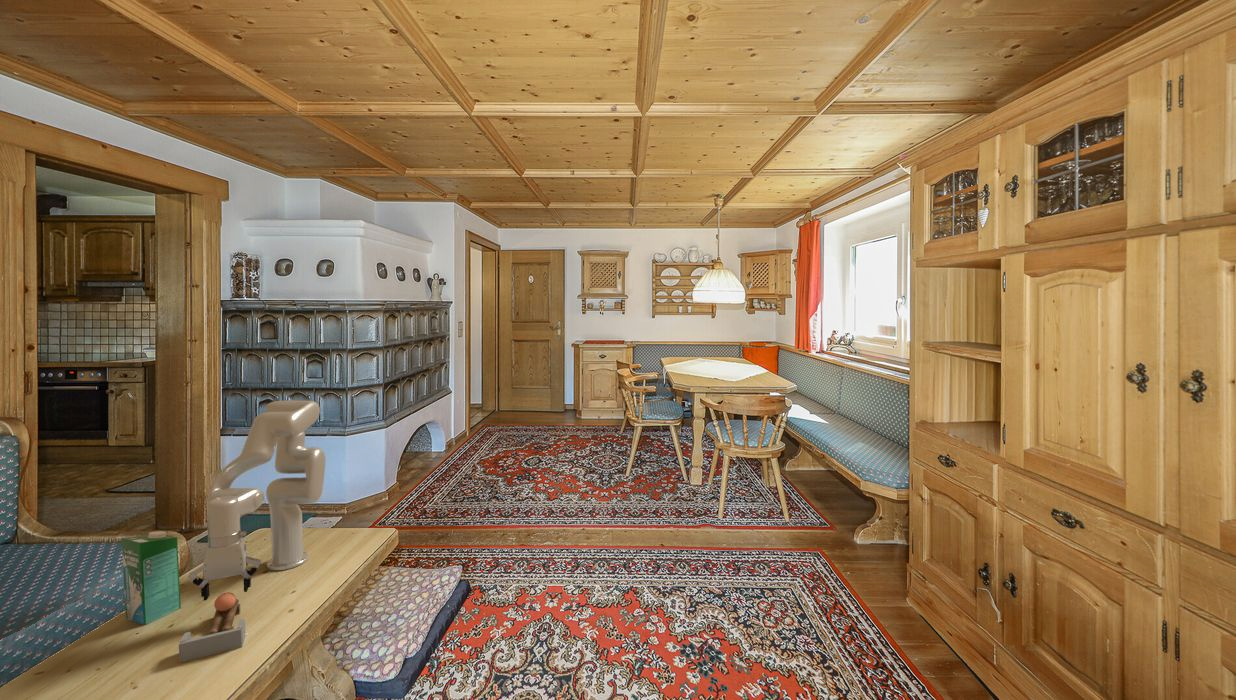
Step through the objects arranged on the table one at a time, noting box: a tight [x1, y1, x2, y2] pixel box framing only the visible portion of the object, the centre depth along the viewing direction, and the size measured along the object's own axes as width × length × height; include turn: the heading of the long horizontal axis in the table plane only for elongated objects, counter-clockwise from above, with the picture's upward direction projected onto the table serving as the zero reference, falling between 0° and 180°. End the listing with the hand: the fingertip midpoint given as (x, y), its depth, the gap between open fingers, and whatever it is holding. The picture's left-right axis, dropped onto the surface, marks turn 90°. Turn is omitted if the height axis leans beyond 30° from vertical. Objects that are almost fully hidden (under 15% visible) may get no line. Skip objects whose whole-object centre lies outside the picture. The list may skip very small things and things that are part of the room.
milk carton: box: [121, 530, 182, 626], centre depth 144 cm, size 9×9×25 cm
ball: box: [213, 591, 237, 611], centre depth 142 cm, size 5×5×5 cm
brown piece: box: [207, 598, 241, 635], centre depth 140 cm, size 12×6×4 cm, turn 29°
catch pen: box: [178, 618, 247, 663], centre depth 130 cm, size 5×13×5 cm, turn 119°
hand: (226, 593), depth 144 cm, fingers open, 9 cm apart
